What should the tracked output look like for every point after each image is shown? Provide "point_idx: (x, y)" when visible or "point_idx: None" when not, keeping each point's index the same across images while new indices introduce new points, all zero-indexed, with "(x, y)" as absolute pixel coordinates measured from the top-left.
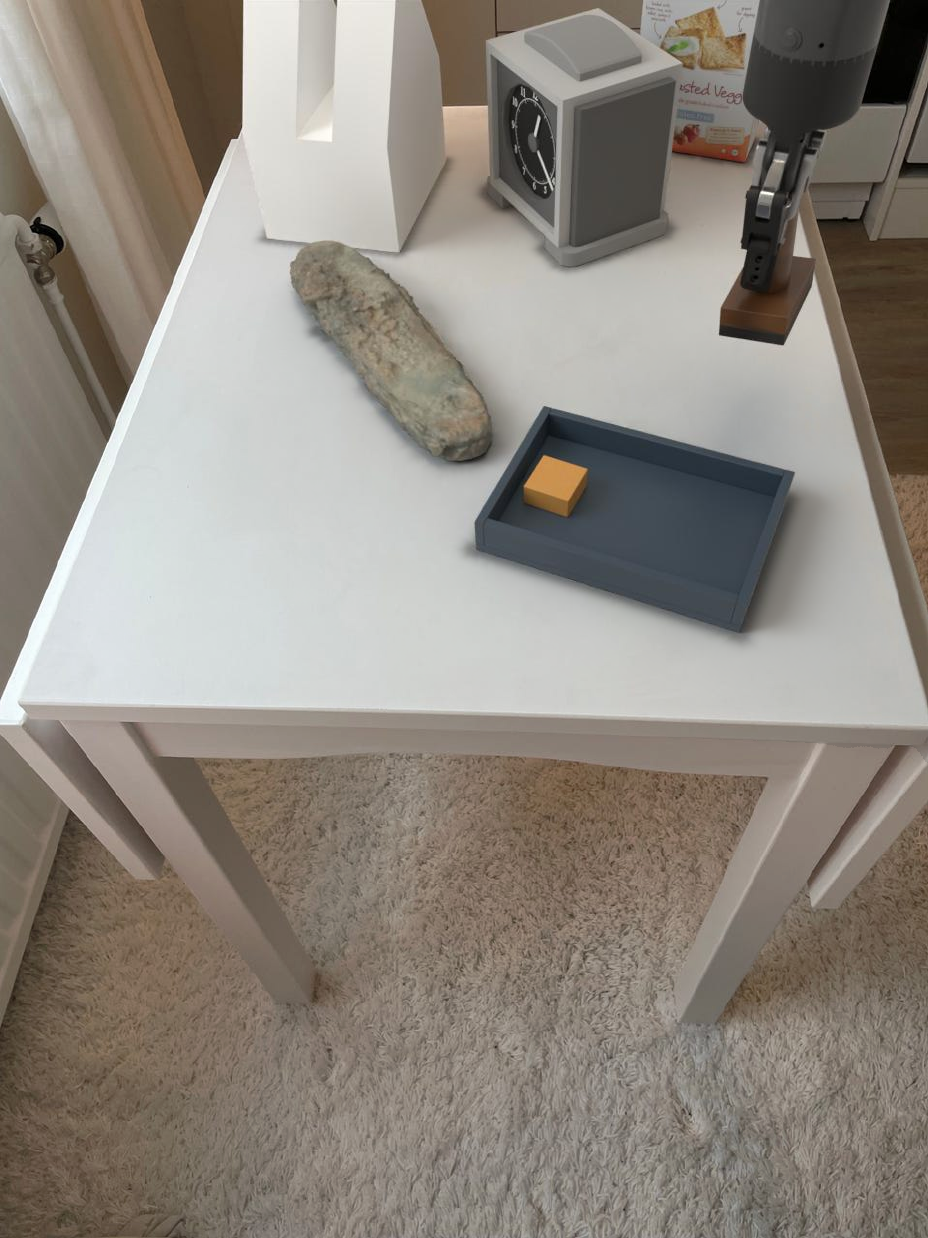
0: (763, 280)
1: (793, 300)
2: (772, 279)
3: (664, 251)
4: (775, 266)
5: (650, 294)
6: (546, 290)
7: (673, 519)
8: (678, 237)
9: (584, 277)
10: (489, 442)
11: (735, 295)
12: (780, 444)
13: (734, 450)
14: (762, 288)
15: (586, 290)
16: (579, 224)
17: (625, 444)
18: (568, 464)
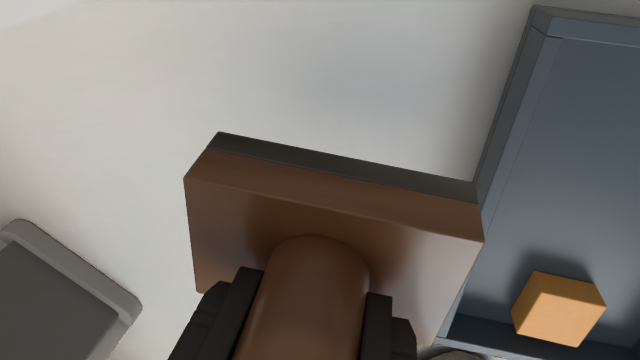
0: (415, 349)
1: (401, 228)
2: (366, 305)
3: (58, 217)
4: (367, 344)
5: (143, 225)
6: (189, 319)
7: (600, 170)
8: (23, 205)
9: (150, 289)
10: (465, 356)
11: None
12: (394, 29)
13: (421, 97)
14: (408, 322)
15: (170, 286)
16: (98, 334)
17: None
18: (533, 310)
